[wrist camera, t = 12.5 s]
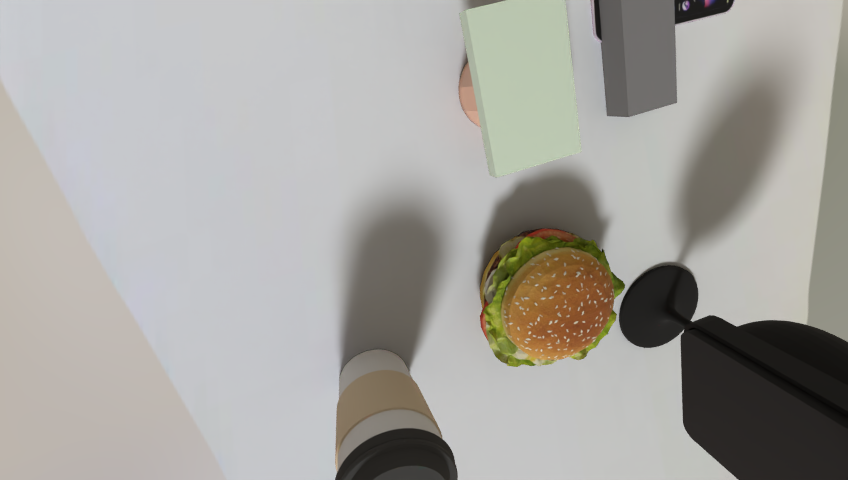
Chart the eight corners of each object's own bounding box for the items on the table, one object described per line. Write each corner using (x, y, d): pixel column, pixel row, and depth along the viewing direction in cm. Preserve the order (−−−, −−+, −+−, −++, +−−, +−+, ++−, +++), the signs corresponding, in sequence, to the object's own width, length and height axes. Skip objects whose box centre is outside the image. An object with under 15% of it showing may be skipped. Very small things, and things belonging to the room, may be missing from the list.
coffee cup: (322, 347, 41) (328, 473, 27) (415, 331, 43) (464, 441, 29) (333, 424, 44) (343, 574, 30) (420, 406, 46) (466, 539, 32)
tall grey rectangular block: (597, -1, 37) (620, -9, 35) (647, -13, 38) (673, -22, 35) (607, 115, 41) (628, 116, 38) (652, 102, 42) (676, 102, 39)
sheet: (459, 13, 31) (465, 9, 29) (553, -9, 32) (563, -14, 30) (489, 175, 35) (496, 177, 34) (571, 150, 36) (581, 151, 35)
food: (447, 334, 44) (474, 380, 37) (497, 205, 41) (538, 227, 34) (556, 356, 48) (600, 402, 41) (609, 241, 45) (666, 268, 38)
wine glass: (709, 270, 50) (943, 370, 31) (676, 349, 52) (874, 484, 34) (637, 258, 47) (850, 360, 28) (606, 343, 49) (782, 487, 31)
